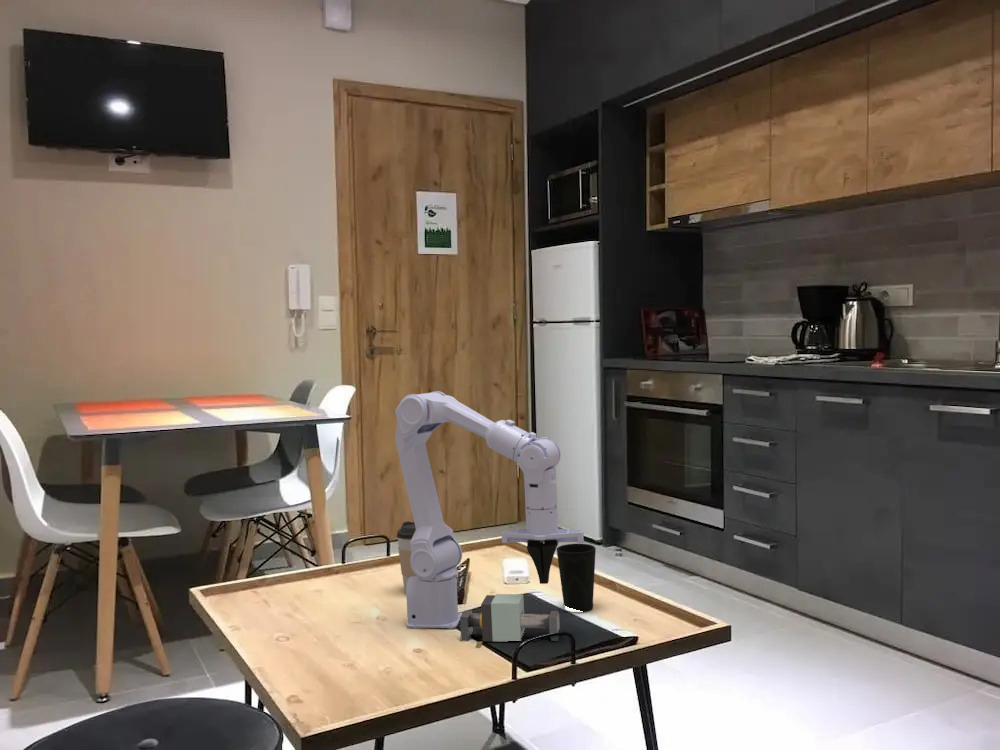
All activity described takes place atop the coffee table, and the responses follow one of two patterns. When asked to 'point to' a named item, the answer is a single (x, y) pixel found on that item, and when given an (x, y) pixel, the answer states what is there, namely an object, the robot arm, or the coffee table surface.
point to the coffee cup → (406, 550)
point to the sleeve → (507, 617)
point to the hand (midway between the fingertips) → (544, 582)
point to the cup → (577, 575)
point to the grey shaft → (527, 621)
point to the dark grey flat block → (487, 618)
